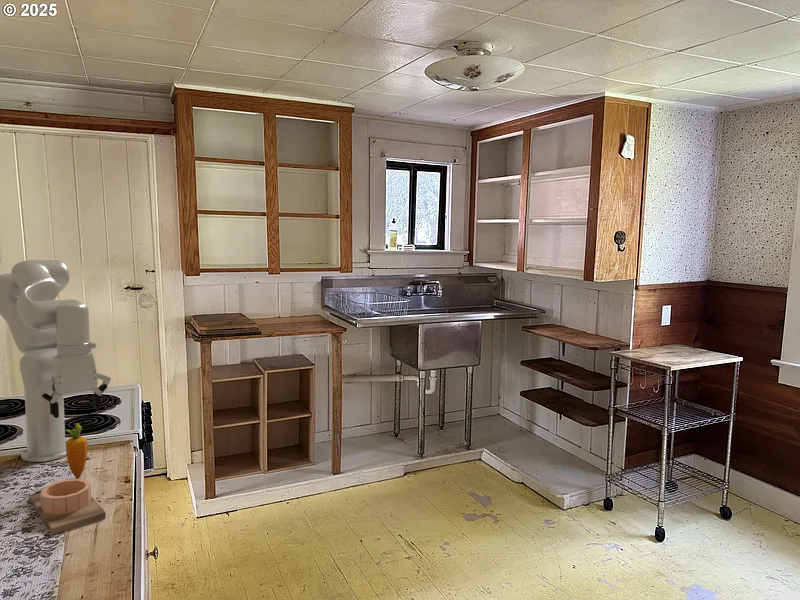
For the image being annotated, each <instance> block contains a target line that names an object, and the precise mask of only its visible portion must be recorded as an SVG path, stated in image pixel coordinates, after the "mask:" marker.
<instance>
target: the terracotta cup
mask: <svg viewBox="0 0 800 600" xmlns="http://www.w3.org/2000/svg"><path fill="white" fill-rule="evenodd" d="M40 493H41V509H42V511H43V512H44V513H47V514H52V515H57V514H66V513H71V512H74V511H77V510H80V509H82V508H83V507H85V506H87V505H88V504H89V503H90V501H91V497H92V484H91V483H90V481H89V480H86V479H82V478H69V479H67V478H66V479H63V480H59V481H56V482H51V484H49V485H47V486H45V487H43V489H42V490H41V491H40Z"/></svg>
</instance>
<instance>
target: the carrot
mask: <svg viewBox="0 0 800 600" xmlns="http://www.w3.org/2000/svg"><path fill="white" fill-rule="evenodd" d="M74 425H75V426H74V427H75V428H72V429H67V428H66V429H65V433H67V434H70V435H71V437H70V438H68V440H66V441H65V443H66V452H67V455H66V459H67V463H68V466H69V469H70V471H71V473H72V474H73V476H74V477H75V479H80V477H81V476H82V474H83V471H84V469H85V467H86V463H87V457H88V439H87V438H86V437H84V436H82V435H80V434H81V432H82V430H83V427H82V426H81V425H80V422H76V423H74Z"/></svg>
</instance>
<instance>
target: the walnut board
mask: <svg viewBox="0 0 800 600" xmlns="http://www.w3.org/2000/svg"><path fill="white" fill-rule="evenodd" d="M29 503H30V504H31V506H32V507H33V509H34V511H36V514H37V515H38V517H39V518H40V519H41V520H42V523H43V524H44V525H45V527H46V528H47V530H48V531H49V533H50V535H52V536H53V535H56V534H60V533H62V532H66V531H69V530H73V529H75V528H78V527H81V526H85V525H88V524H90V523H94V522H97V521H100V520H101V521H102V520H105V519H106V511H105V510H104V508H102V507H101V505H100V504H99V503H98V502H97V501H96V500H95V499H94V498H93V497H92V496H91V501H90V503H89V504H88V505H87V506H85V507H83V508H82V509H80V510H77V511H74V512H71V513H66V514H57V515H52V514H47V513H44V512H43V511H42V509H41V492H40V493H37V494H33V495H29Z"/></svg>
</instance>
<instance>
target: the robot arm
mask: <svg viewBox="0 0 800 600" xmlns="http://www.w3.org/2000/svg"><path fill="white" fill-rule="evenodd" d="M70 275H71V274H70V271H69V268H68V266H67V264H65V263H64V262H62V261H61V260H58V259H40V260H39V259H33V260H32V259H28V260H23V261H20V262H17V263H16V264H15V265H13V267H12V268H11V270H10V272H9V273H3V274H0V316H1V317H2V318H3V319H4V321H5V322H6V323H7V325H8V328H9V331H10V334H11V335H12V338H13V340H14V341H13V342H14V343H15V345H16V347H17V349H18V351H19V352H20V353H22V354H23V355H22V356H21V358H20V359H19V371H20V375H21V380H22V383H23V385H22V386H23V392H24V403H25V409H24V410H25V426H26V427H25V428H26V429H25V431H26V448H25V449H24V450H23V451H22V452H21V453H20V457H21V460H23V461H24V462H29V463H43V462H49V461H54V460H57V459H58V460H59V459H60V458H64V457H65V456H66V457H67V452H66V427H65V426H66V425H65V403H64V395H70V394H78V393H82V392H88V391H89V392H90V391H92V392H93V393H92V397H91V398H92V408H93V410H95V411H99V410H100V407H101V406H102V401H101V400H102V398H101V396H103V393H104V392H105V391H106V390H107V389H108V385H110V382H111V380H112V378H111V377H110V376H108V375H105V374H101V373H98V371H97V366H96V359H95V356H94V353H93V352H92V350H93V349H96V348H97V344H96V343H95V342H93V343H92V342H91V341H90V337H91V336H90V314H89V313H90V310H89V306H88V305H87V304H85V303H83V302H81V301H79V300H78V299H73V298H72V299H56V298H57V297H58V296H59V293H60V292H62V291H63V290H64V289H65V288H66V287H67V285H68V284H69V282H70V277H71V276H70ZM98 379H99V380H101V381H102V383H101V384H100V385H99V387H98Z"/></svg>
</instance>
